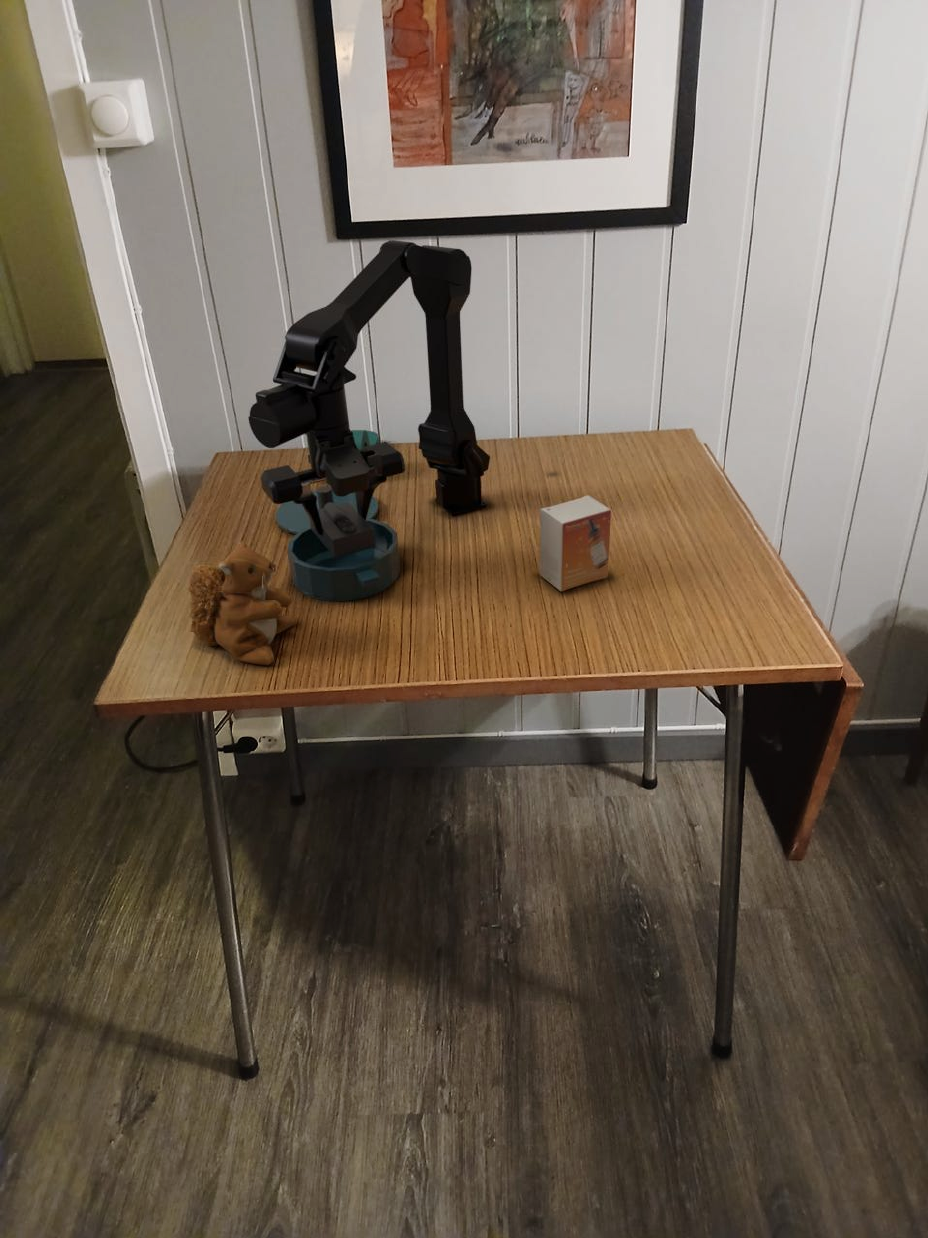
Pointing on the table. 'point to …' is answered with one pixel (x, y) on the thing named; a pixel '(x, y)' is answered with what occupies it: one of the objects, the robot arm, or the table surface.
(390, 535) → the pot
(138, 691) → the table surface
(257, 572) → the stuffed squirrel
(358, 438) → the bracket
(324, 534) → the dark grey block
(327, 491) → the lid
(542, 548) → the small box
